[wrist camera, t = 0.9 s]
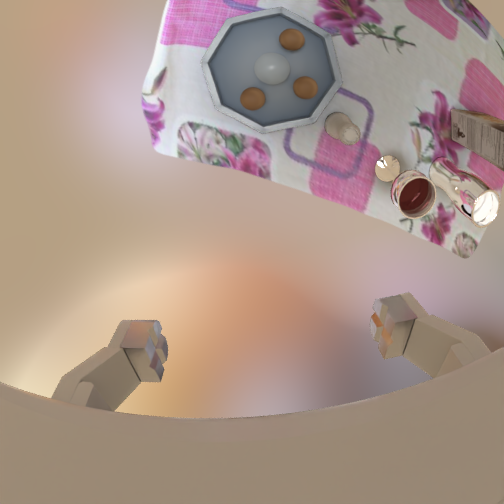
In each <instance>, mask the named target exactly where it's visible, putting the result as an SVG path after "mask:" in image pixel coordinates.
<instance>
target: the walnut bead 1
mask: <svg viewBox="0 0 504 504" xmlns="http://www.w3.org/2000/svg"><path fill="white" fill-rule="evenodd" d="M240 102H241V104H242V106H243V107H244V108H246V109H248V110H252V111H253V110H258V109H260V108H261V107H262V106H263V105H264V103H265V95H264V93H263V92H262V91H261V90H260V89H258V88H255V87H250V88H247V89H245V90H244V91H243V92H242V94H241V96H240Z"/></svg>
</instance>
